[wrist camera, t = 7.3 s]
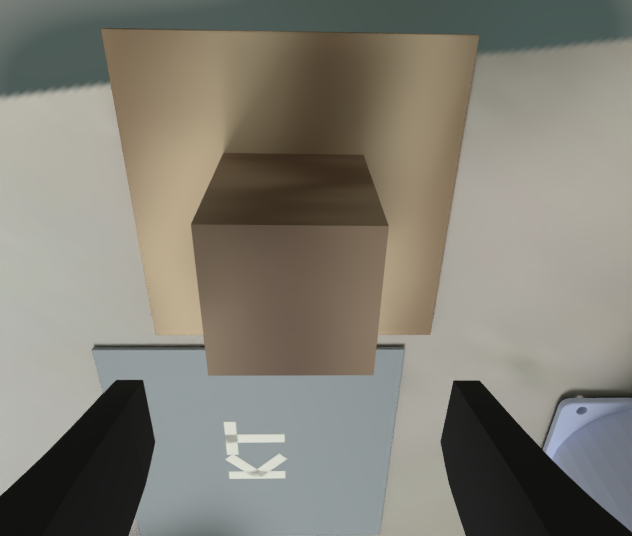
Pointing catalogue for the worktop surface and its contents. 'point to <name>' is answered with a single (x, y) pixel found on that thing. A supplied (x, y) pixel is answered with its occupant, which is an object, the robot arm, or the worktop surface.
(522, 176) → the worktop surface
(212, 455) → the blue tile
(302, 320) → the walnut block
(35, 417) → the worktop surface
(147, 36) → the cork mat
